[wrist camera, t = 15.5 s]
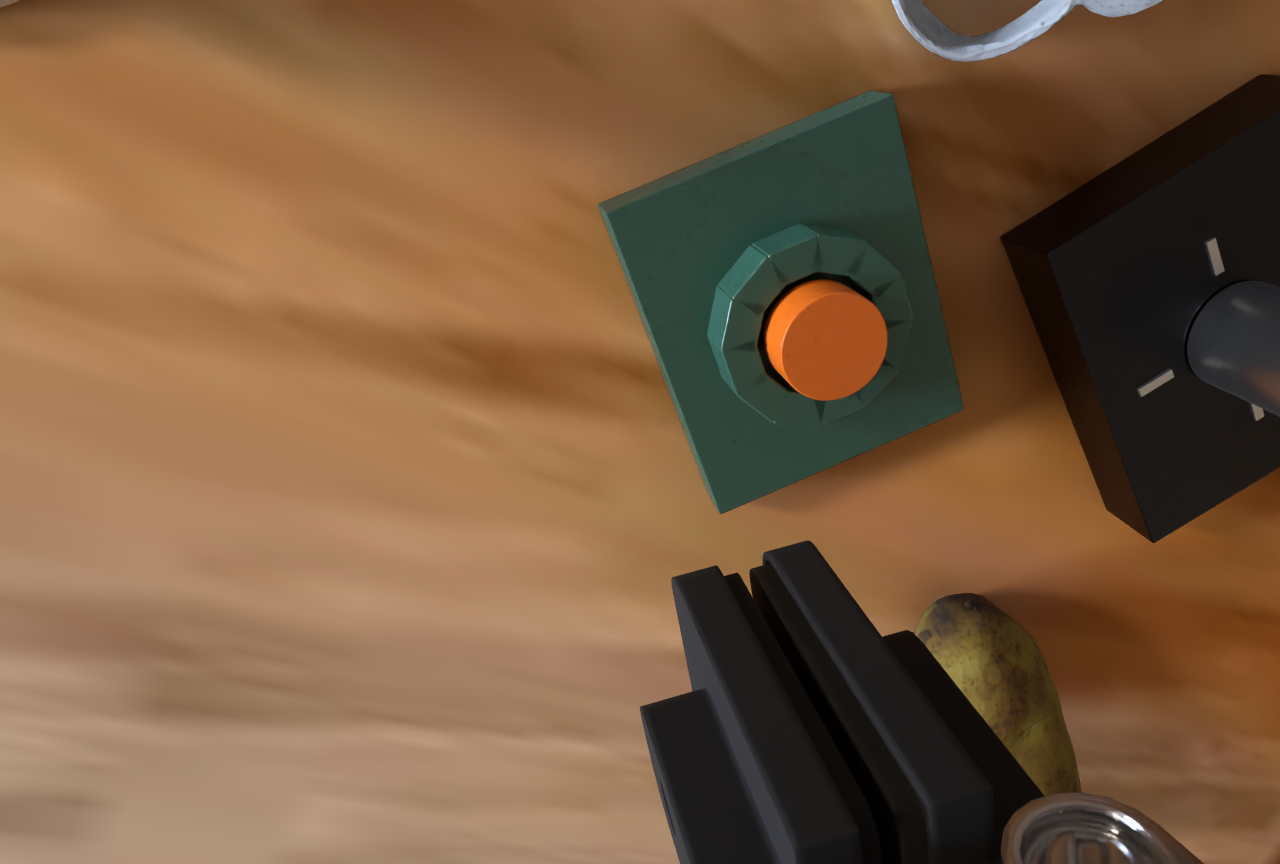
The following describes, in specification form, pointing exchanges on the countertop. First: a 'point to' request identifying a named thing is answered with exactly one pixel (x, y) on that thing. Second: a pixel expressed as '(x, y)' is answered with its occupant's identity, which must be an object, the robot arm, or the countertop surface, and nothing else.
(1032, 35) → the ceramic mug
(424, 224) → the countertop surface
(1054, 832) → the robot arm
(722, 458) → the block
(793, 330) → the button
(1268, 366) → the knob
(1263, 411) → the hob console
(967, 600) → the potato
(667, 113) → the countertop surface
